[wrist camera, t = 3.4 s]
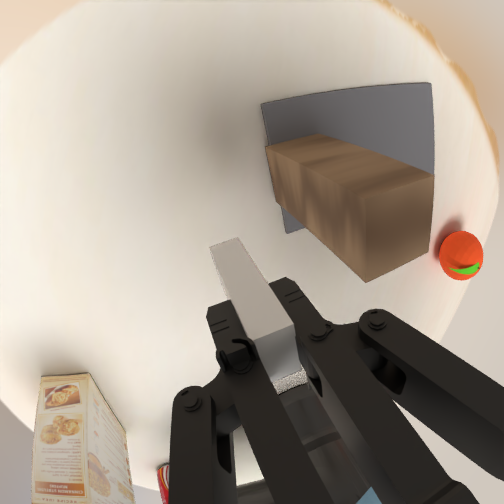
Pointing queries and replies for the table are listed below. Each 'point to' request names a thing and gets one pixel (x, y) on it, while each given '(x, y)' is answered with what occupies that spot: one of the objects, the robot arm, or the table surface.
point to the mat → (360, 123)
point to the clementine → (461, 255)
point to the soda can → (163, 482)
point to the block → (355, 201)
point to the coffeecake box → (78, 446)
